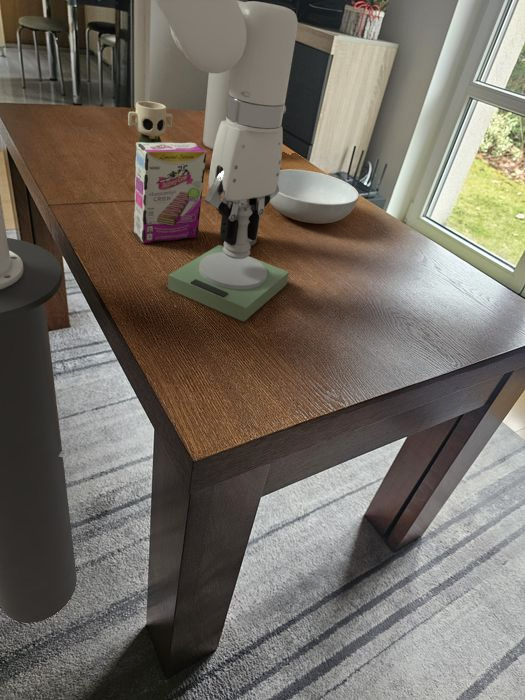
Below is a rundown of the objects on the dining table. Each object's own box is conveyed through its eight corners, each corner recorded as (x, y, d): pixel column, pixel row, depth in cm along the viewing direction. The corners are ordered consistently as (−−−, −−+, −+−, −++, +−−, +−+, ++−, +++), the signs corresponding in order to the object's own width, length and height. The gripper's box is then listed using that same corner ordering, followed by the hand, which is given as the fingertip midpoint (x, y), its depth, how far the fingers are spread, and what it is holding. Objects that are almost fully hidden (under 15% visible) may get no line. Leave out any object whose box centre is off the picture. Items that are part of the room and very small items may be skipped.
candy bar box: (143, 245, 90) (145, 151, 80) (133, 233, 93) (133, 141, 84) (199, 238, 96) (207, 150, 86) (188, 227, 99) (194, 141, 89)
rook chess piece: (247, 262, 78) (254, 213, 74) (219, 256, 79) (224, 207, 74) (252, 250, 82) (259, 203, 77) (225, 244, 82) (231, 197, 77)
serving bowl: (276, 190, 124) (281, 162, 120) (358, 213, 120) (366, 184, 116) (246, 217, 108) (251, 185, 104) (340, 244, 104) (349, 212, 100)
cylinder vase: (193, 144, 144) (201, 43, 129) (219, 138, 153) (229, 43, 138) (229, 156, 140) (241, 54, 125) (253, 150, 149) (267, 53, 134)
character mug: (131, 165, 122) (132, 107, 114) (124, 155, 127) (124, 99, 119) (175, 165, 127) (178, 110, 119) (166, 156, 132) (168, 102, 124)
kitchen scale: (243, 322, 76) (246, 303, 74) (167, 288, 80) (168, 270, 78) (286, 284, 87) (290, 267, 85) (217, 257, 91) (219, 240, 89)
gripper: (279, 105, 75) (261, 221, 86) (188, 107, 65) (179, 238, 76) (316, 119, 71) (291, 239, 82) (224, 124, 61) (210, 260, 72)
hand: (238, 238), depth 79 cm, fingers closed on rook chess piece, 3 cm apart
